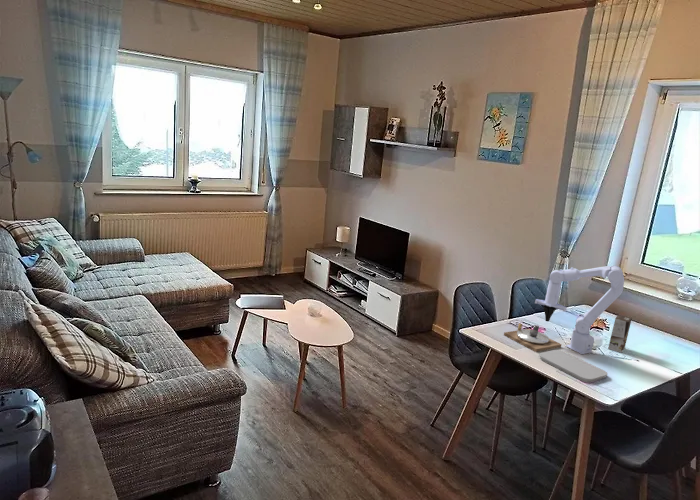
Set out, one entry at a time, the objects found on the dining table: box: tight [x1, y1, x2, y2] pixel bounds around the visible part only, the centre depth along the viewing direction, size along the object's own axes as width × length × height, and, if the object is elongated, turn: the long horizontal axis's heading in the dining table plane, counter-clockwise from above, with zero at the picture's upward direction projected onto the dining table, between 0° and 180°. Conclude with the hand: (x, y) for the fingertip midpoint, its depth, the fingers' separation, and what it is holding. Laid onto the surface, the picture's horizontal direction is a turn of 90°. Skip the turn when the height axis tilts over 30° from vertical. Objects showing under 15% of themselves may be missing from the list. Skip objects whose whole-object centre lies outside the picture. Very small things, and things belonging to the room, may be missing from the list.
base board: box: [503, 323, 562, 353], centre depth 248 cm, size 20×18×6 cm
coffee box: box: [607, 314, 633, 353], centre depth 249 cm, size 9×6×16 cm
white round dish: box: [516, 325, 550, 344], centre depth 247 cm, size 15×15×4 cm
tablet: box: [538, 349, 608, 383], centre depth 223 cm, size 16×26×2 cm, turn 31°
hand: (547, 320), depth 248 cm, fingers closed
